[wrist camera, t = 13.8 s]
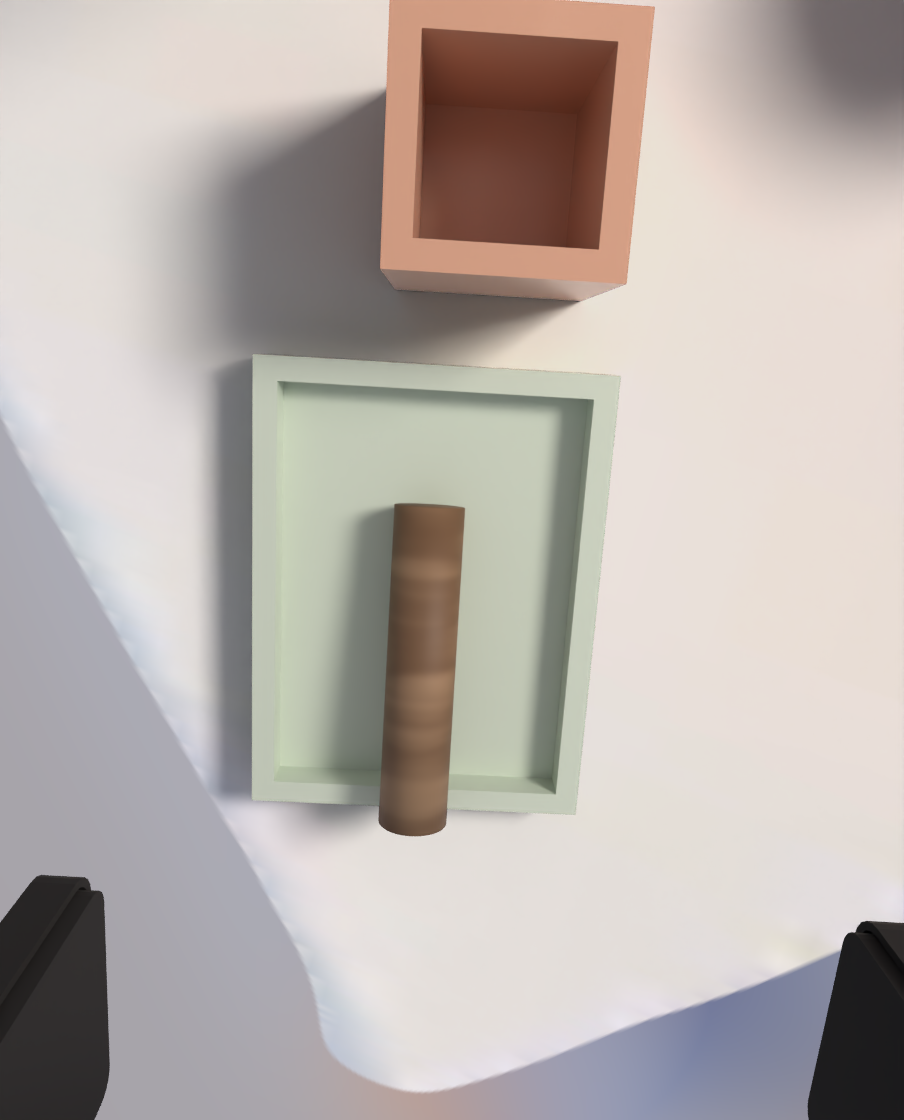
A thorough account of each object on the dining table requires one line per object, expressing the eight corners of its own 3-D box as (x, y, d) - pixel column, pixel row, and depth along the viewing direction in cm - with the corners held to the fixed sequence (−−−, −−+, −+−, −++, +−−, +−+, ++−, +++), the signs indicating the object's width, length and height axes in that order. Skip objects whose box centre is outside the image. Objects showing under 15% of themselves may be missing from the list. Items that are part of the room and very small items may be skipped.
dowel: (394, 482, 34) (369, 847, 31) (467, 486, 34) (449, 851, 31) (399, 529, 42) (379, 828, 38) (459, 533, 42) (444, 831, 39)
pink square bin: (403, 82, 34) (390, -12, 25) (599, 95, 34) (654, 6, 25) (394, 289, 36) (380, 269, 27) (581, 301, 36) (626, 284, 27)
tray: (265, 354, 36) (252, 354, 34) (609, 374, 37) (620, 376, 34) (262, 773, 41) (251, 800, 39) (567, 787, 42) (575, 814, 39)
